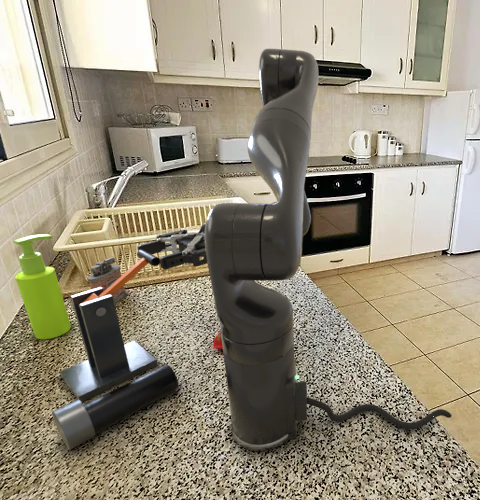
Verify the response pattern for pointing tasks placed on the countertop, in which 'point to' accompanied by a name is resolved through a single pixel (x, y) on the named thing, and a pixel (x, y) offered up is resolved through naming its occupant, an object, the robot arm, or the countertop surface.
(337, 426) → the countertop surface
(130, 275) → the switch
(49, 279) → the soap dispenser
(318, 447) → the countertop surface
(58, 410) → the flashlight
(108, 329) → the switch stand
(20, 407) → the countertop surface
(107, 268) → the lighter
